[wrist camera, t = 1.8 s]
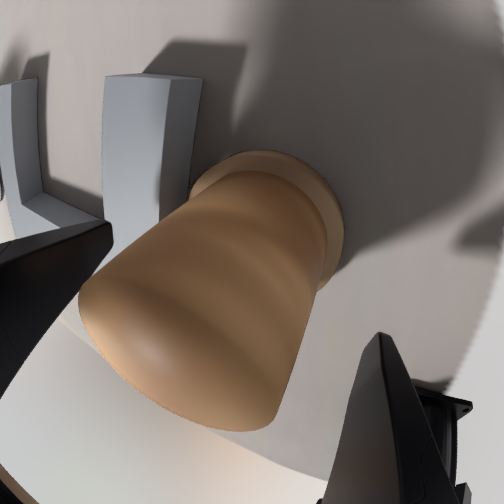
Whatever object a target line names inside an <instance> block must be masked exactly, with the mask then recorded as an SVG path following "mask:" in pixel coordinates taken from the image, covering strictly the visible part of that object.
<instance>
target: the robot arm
mask: <svg viewBox="0 0 504 504" xmlns="http://www.w3.org/2000/svg"><path fill="white" fill-rule="evenodd" d="M113 245H114V238H113V227H112V224H111V222H109V221H107V220H105V219H97V220H93V221H88V222H84V223H79V224H75V225H71V226H66V227H62V228H58V229H54V230H50V231H46V232H42V233H38V234H34V235H30V236H26V237H23V238H19V239H15V240H13V241H8V242H5V243H1V244H0V399H1V397H2V396H3V394H4V392H5V391H6V389H7V388H8V386H9V384H10V383H11V381H12V380H13V378H14V377H15V375H16V374H17V372H18V371H19V369H20V368H21V366H22V365H23V363H24V361H25V360H26V359H27V357H28V356H29V355H30V353H31V352H32V350H33V349H34V348H35V346H36V345H37V343H38V342H39V340H40V339H41V338H42V337H43V335H44V334H45V333H46V331H47V330H48V329H49V328H50V326H51V325H52V324H53V322H54V321H55V320H56V319H57V317H58V316H59V315H60V314H61V312H62V311H63V310H64V309H65V307H66V306H67V305H68V304H69V303H70V301H71V300H72V299H73V298H74V297H75V295H76V294H77V293H78V292H79V291H80V289H81V287H82V285H83V284H84V283H85V282H86V281H87V280H88V279H89V278H90V277H91V276H92V275H93V273H94V272H95V271H96V269H97V268H98V266H99V265H100V264H101V262H102V261H103V260H104V258H105V257H106V256H107V254H108V253H109V252H110V250H111V249H112V247H113ZM472 409H473V405H472V402H471V401H467V400H463V399H458V398H454V397H450V396H446V395H442V394H438V393H434V392H430V391H426V390H423V389H419V388H415V387H414V386H413V383H412V381H411V379H410V376H409V374H408V372H407V369H406V367H405V365H404V363H403V360H402V358H401V356H400V354H399V352H398V350H397V347H396V345H395V343H394V341H393V339H392V337H391V336H390V335H388V334H385V333H382V332H377V333H376V334H375V336H374V337H373V338H372V339H371V341H370V342H369V343H368V345H367V346H366V347H365V349H364V350H363V353H362V356H361V359H360V363H359V367H358V370H357V374H356V377H355V381H354V384H353V387H352V390H351V394H350V397H349V401H348V406H347V410H346V415H345V420H344V424H343V429H342V433H341V437H340V441H339V445H338V449H337V453H336V457H335V461H334V464H333V468H332V471H331V475H330V478H329V481H328V485H327V488H326V491H325V494H324V497H323V499H319V500H318V501H317V503H316V504H471V495H472V494H471V491H470V489H469V487H468V485H467V483H462V484H458V485H456V487H455V481H456V468H457V420H459V419H460V418H462V417H463V416H465V415H466V414H467V413H469V412H470V411H471V410H472ZM0 504H39V503H38V502H37V501H36V500H35V499H33V497H32V496H30V495H29V494H28V493H27V492H26V491H25V490H24V489H23V488H22V487H21V486H20V485H19V484H18V483H17V482H16V481H15V479H14V478H13V477H12V476H11V475H10V474H9V473H8V472H7V471H6V470H5V468H4V467H3V466H2V465H1V464H0Z"/></svg>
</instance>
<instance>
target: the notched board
mask: <svg viewBox="0 0 504 504" xmlns="http://www.w3.org/2000/svg"><path fill="white" fill-rule="evenodd" d="M202 84H203V79H200V78H192V77H183V76H173V75H161V74H145V73H138V74H123V75H112V76H105V85H104V97H103V113H102V187H103V204H104V217H105V220H107V221H109V222H111V224H112V227H113V238H114V245H113V247H112V249H111V250H110V252H109V253H108V254H107V256H106V257H105V258H104V260H103V261H102V262H101V264H100V265H99V266H98V268H97V269H96V271H95V272H94V273H93V275H94V274H95V273H96V272H97V271H98V270H100V269H101V268H102V267H103V266H104V265H106V264H107V263H108V262H109V261H110V260H112V259H113V258H114V257H115V256H117V255H118V254H119V253H120V252H121V251H123V250H124V249H125V248H126V247H128V246H129V245H130V244H131V243H133V242H134V241H135V240H137V239H138V238H139V237H140V236H142V235H143V234H144V233H146V232H147V231H148V230H149V229H151V228H152V227H153V226H155V225H156V224H157V223H159V222H160V221H161V220H163V219H164V218H165V217H167V216H168V215H169V214H171V213H172V212H173V211H175V210H176V209H178V208H179V207H180V206H182V205H183V204H184V203H186V202H187V193H188V184H189V174H190V166H191V158H192V150H193V142H194V135H195V128H196V121H197V114H198V108H199V102H200V95H201V90H202ZM37 89H38V78H31V79H24V80H19V81H15V82H11V83H7V84H4V85H0V166H1V172H2V179H3V185H4V190H5V195H6V200H7V205H8V209H9V214H10V218H11V222H12V226H13V229H14V233H15V237H16V239H19V238H23V237H26V236H30V235H34V234H38V233H42V232H46V231H50V230H54V229H58V228H62V227H66V226H71V225H75V224H79V223H84V222H88V221H93V220H97V219H99V218H97V217H94V216H92V215H90V214H88V213H86V212H84V211H82V210H79V209H77V208H75V207H73V206H71V205H69V204H67V203H65V202H63V201H60V200H58V199H56V198H54V197H52V196H50V195H48V194H46V193H44V192H43V187H42V180H41V171H40V161H39V149H38V131H37ZM93 275H92V276H93Z"/></svg>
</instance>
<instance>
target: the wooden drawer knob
mask: <svg viewBox="0 0 504 504" xmlns="http://www.w3.org/2000/svg"><path fill="white" fill-rule="evenodd" d="M343 240H344V219H343V214H342V210H341V207H340V204H339V202H338V199H337V197H336V195H335V194H334V192H333V190H332V189H331V187H330V186H329V184H328V183H327V182H326V181H325V179H324V178H323V177H322V176H321V175H320V174H319V173H318V172H317V171H316V170H314V169H313V168H312V167H310V166H309V165H308V164H306V163H304V162H303V161H301V160H299V159H297V158H295V157H293V156H290V155H288V154H285V153H281V152H277V151H271V150H251V151H245V152H241V153H238V154H235V155H233V156H231V157H229V158H227V159H225V160H223V161H221V162H220V163H218V164H216V165H214V166H212V167H211V168H210V169H208V170H207V171H206V172H205V173H204V174H203V175H202V176H201V177H200V178H199V179H198V180H197V182H196V183H195V185H194V186H193V188H192V190H191V192H190V194H189V197H188V200H187V202H186V203H184V204H183V205H182V206H180V207H179V208H178V209H176V210H175V211H173V212H172V213H171V214H169V215H168V216H167V217H165V218H164V219H163V220H161V221H160V222H159V223H157V224H156V225H155V226H153V227H152V228H151V229H149V230H148V231H147V232H146V233H144V234H143V235H142V236H140V237H139V238H138V239H137V240H135V241H134V242H133V243H131V244H130V245H129V246H128V247H126V248H125V249H124V250H123V251H121V252H120V253H119V254H118V255H117V256H115V257H114V258H113V259H112V260H110V261H109V262H108V263H107V264H106V265H104V266H103V267H102V268H101V269H100V270H98V271H97V272H96V273H95V274H94V275H93V276H91V277H90V278H89V279H88V280H87V281H86V282H85V283H84V284H83V285H82V287H81V289H80V291H79V296H78V306H79V312H80V315H81V319H82V322H83V324H84V326H85V329H86V331H87V333H88V335H89V337H90V338H91V340H92V341H93V343H94V345H95V346H96V348H97V349H98V350H99V352H100V353H101V354H102V356H103V357H104V358H105V359H106V361H107V362H108V363H109V364H110V365H111V366H112V367H113V368H114V370H115V371H117V373H119V375H120V376H122V377H123V378H124V379H125V380H126V381H127V382H128V383H129V384H131V385H132V386H133V387H134V388H135V389H137V390H138V391H139V392H140V393H142V394H143V395H145V396H146V397H147V398H149V399H150V400H152V401H153V402H155V403H156V404H158V405H160V406H162V407H163V408H165V409H167V410H169V411H170V412H172V413H174V414H176V415H178V416H180V417H183V418H185V419H187V420H190V421H192V422H195V423H198V424H201V425H204V426H207V427H211V428H215V429H220V430H226V431H236V432H245V431H253V430H258V429H261V428H263V427H265V426H267V425H269V424H270V423H271V422H272V421H273V420H274V418H275V416H276V414H277V412H278V409H279V406H280V404H281V401H282V398H283V395H284V393H285V390H286V387H287V384H288V381H289V378H290V375H291V373H292V370H293V367H294V364H295V361H296V358H297V355H298V351H299V348H300V345H301V342H302V339H303V336H304V333H305V329H306V326H307V323H308V319H309V316H310V313H311V309H312V306H313V302H314V299H315V295H316V292H317V291H319V290H320V289H321V288H322V287H324V286H325V285H326V284H327V282H328V281H329V280H330V279H331V277H332V276H333V274H334V272H335V271H336V269H337V266H338V264H339V261H340V257H341V252H342V246H343Z"/></svg>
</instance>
